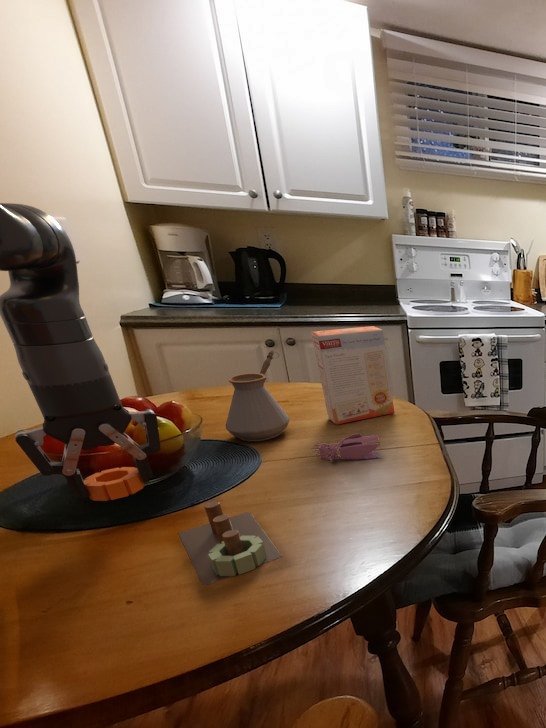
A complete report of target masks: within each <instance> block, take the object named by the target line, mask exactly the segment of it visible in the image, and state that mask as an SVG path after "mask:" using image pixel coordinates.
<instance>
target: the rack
mask: <svg viewBox="0 0 546 728" xmlns="http://www.w3.org/2000/svg"><path fill="white" fill-rule="evenodd" d="M203 508H204V510H205V514H206V516H207V520H208V522H209V523H206V524H203V525H200V526H196V527H193V528H189V529H186V530H184V531H183V530H182V531H179V532H177V534H178V536H179V539H180V541H181V543H182V545H183V547H184V550H185V551H186V553H187V555H188V557H189V560H190V562H191V564H192V566H193V568H194V570H195V572H196V574H197V576H198V579H199V581H200V583H201V585H202V587H205V586H208V585H211V584H214V583H216V582H219V581H222V580H224V579H227V578H230V577H231V576H220V575H216V573H215V572H214V570H213V568H212V565H211V562H210V560H209V557H208V554H209V551H210V550H211V549H212V548H214V547H215V546H216V545H217V544H222V543H221V542H222V541H224V544H225V547H226V550H227V553H228V556H234V555H237V554H240V553H243V552H245V551H244V548H243V545H242V542H241V538H240V536H256V537H259V538H260V539H261V540H262V541H263V544H264V547H265V551H266V555H267V556H266V559H265V560H264V561H263V562H262V563H261V565H260V566H262V565H264V564H268V563H270V562H272V561H275V560H278V559H281V558H283V557H284V556H283V555H282V553H281V552H280V551H279V549H278V548H277V547H276V546H275V544H274V542H273V541H272V540H271V538H269V536H268V535H267V533H266V532H265V530H264V529H263V528H262V526H261V525H260V524H259V522H258V521H257V520H256V518H255V517H254V515H253V514H252V512H250V511H245V512H243V513H239V514H237V515H233V516H229V515H227V514H224V512H223V509H222V506H221V503H220V501H217V500H215V501H210V502H207V503H205V505H204V506H203ZM257 567H258V566H255V568H257ZM236 575H239V574H238V573H237V574H236Z"/></svg>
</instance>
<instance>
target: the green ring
mask: <svg viewBox="0 0 546 728" xmlns="http://www.w3.org/2000/svg"><path fill="white" fill-rule="evenodd" d="M240 538H241V542H242V545H243V548H244V551H245V552H243V553H240V554H237V555H234V556H228V553H227V550H226V547H225V544H224V541H222V542H221V543H222V544H217V545H216V546H215V547H214V548H212V549H211V550H210V551H209V554H208V557H209V560H210V562H211V565H212V568H213V570H214V572H215V573H216V575H220V576H230V577H236V575H238V576H241V575H243V574H246V573H248V572H250V571H253V570H256V567H255V566H257V567H260V566H262V565H261V563H262V562H263V561H264V560H265V559H266V556H267V555H266V551H265V547H264V544H263V541H262V540H261V539H260V538H259V537H256V536H240ZM237 573H238V574H237Z"/></svg>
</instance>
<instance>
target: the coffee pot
mask: <svg viewBox="0 0 546 728" xmlns="http://www.w3.org/2000/svg"><path fill="white" fill-rule="evenodd" d="M274 353H275V354H277V355H278V356H276V357H275V356H274ZM278 358H280V353H278V352H277V351H274V350H270V351H269V352H267V355H266V359H265V360H264V361H263V363H262V366H261V369H260V371H259V373H241V374H236V375H232V376H231V377H228V378H227V379H228V382H229V383H230V384H231V385H232V387H233V388H234V390H233V394H232V398H231V402H230V406H229V410H228V414H227V419H226V423H225V430H226V431H227V432H229V434H230V435H232V436H234V437H236V438H239V439H240V440H242V441H245V442H261V441H266V440H267V441H268V440H272V439H274V438H276V437H279V436H280V435H282V433H283V431H284V430H285V429H287V427H288V426H289V423H290V417H289V415H288V414H287V412H285V410H284V408H283V407H282V406H281V405H280V404H279V402H278V401H277V400H276V398H274V396H273V395H272V394H271V392H270V391H269V390H268V389H267V388H266V387H265V382H266V381H267V376H266V373H267V372H268V369H269V367H270V366H271V361H272V360H274V359H278Z"/></svg>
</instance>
